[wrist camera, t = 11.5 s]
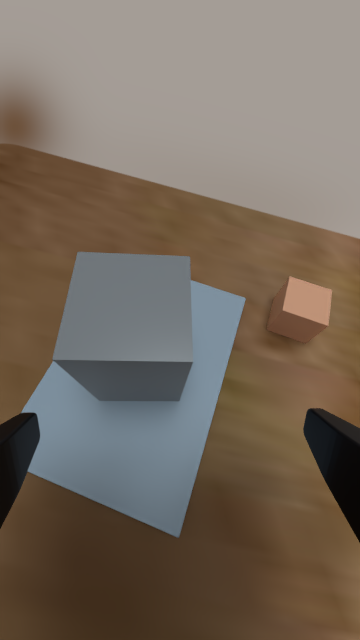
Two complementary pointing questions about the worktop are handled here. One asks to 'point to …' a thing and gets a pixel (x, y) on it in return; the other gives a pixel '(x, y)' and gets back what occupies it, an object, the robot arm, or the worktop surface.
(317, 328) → the exposed block
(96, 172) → the worktop surface
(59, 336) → the tall gray block
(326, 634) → the worktop surface
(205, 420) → the board
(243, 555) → the worktop surface
